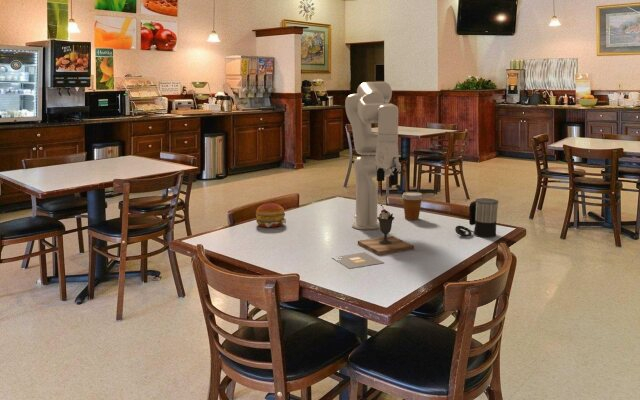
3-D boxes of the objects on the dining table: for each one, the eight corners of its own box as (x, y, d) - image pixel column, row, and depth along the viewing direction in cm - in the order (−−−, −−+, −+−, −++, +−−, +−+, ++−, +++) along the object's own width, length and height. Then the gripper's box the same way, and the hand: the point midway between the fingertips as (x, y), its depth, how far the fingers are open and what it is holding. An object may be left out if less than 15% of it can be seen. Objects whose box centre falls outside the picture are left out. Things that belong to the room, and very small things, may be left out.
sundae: (375, 240, 228) (375, 203, 225) (391, 240, 229) (392, 203, 225) (378, 245, 222) (378, 207, 218) (395, 244, 222) (396, 206, 219)
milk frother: (500, 234, 240) (502, 200, 237) (481, 242, 230) (483, 206, 227) (470, 228, 250) (472, 195, 247) (450, 235, 240) (452, 201, 237)
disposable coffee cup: (401, 220, 265) (401, 195, 263) (401, 216, 275) (402, 191, 272) (422, 221, 264) (422, 195, 261) (422, 216, 273) (422, 191, 271)
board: (357, 244, 228) (357, 240, 228) (392, 239, 235) (392, 235, 235) (378, 255, 214) (378, 251, 214) (414, 249, 221) (414, 245, 221)
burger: (259, 221, 268) (259, 200, 266) (288, 221, 266) (288, 200, 264) (252, 228, 255) (251, 206, 253) (282, 229, 253) (282, 207, 251)
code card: (331, 257, 212) (331, 257, 212) (364, 252, 217) (364, 252, 217) (349, 268, 199) (349, 268, 199) (383, 263, 205) (384, 262, 205)
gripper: (367, 136, 223) (367, 180, 226) (391, 141, 207) (390, 187, 211) (384, 135, 226) (383, 178, 229) (409, 139, 210) (407, 185, 214)
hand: (387, 182), depth 220 cm, fingers open, 9 cm apart
